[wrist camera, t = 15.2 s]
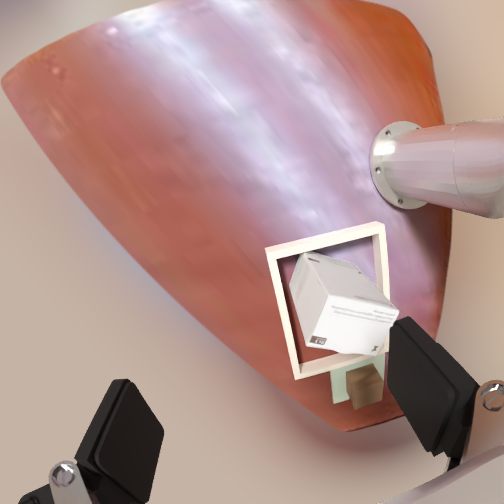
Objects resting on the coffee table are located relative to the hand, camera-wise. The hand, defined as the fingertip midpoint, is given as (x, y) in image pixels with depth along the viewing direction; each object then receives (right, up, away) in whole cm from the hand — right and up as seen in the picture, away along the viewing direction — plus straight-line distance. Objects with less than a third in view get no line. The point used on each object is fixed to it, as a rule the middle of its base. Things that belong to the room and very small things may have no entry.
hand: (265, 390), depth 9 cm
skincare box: (+9, +2, +29) cm, 31 cm away
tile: (+18, -17, +35) cm, 43 cm away
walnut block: (+18, -17, +34) cm, 42 cm away
